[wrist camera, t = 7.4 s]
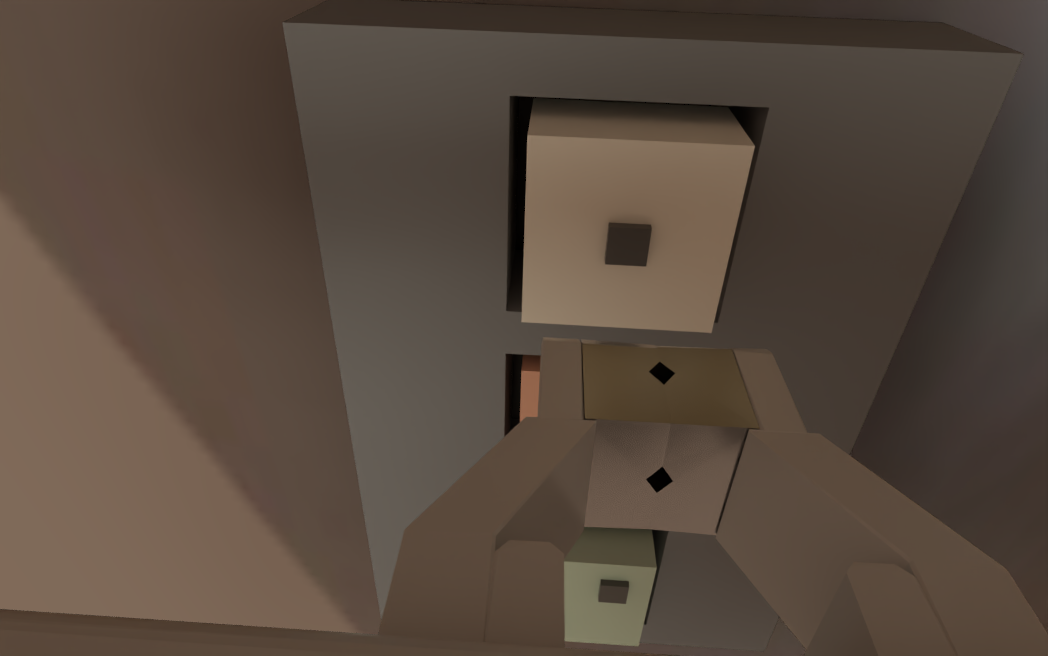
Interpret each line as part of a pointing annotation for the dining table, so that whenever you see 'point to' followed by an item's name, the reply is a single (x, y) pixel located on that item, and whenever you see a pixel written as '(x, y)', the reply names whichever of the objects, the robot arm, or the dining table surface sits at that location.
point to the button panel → (497, 268)
